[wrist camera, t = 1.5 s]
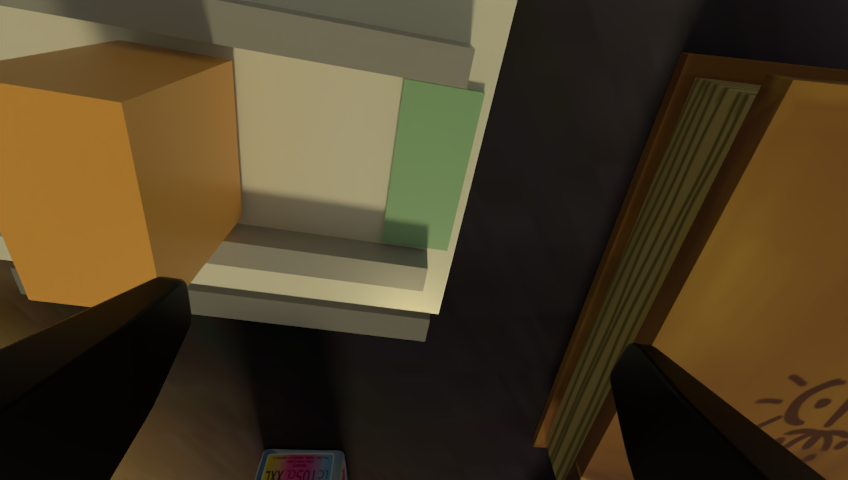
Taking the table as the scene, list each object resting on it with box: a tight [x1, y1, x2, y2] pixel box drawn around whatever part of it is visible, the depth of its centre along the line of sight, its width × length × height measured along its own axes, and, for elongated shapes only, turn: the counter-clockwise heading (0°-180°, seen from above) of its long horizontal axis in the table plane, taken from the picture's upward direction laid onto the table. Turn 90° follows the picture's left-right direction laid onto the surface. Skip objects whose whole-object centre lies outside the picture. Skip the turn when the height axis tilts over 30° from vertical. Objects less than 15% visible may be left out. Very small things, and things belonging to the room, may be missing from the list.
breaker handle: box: [0, 40, 242, 307], centre depth 10 cm, size 3×5×5 cm, turn 170°
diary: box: [532, 52, 848, 480], centre depth 19 cm, size 23×19×6 cm
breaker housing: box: [0, 0, 517, 314], centre depth 14 cm, size 18×12×4 cm, turn 80°
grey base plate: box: [10, 265, 430, 342], centre depth 15 cm, size 18×18×1 cm
